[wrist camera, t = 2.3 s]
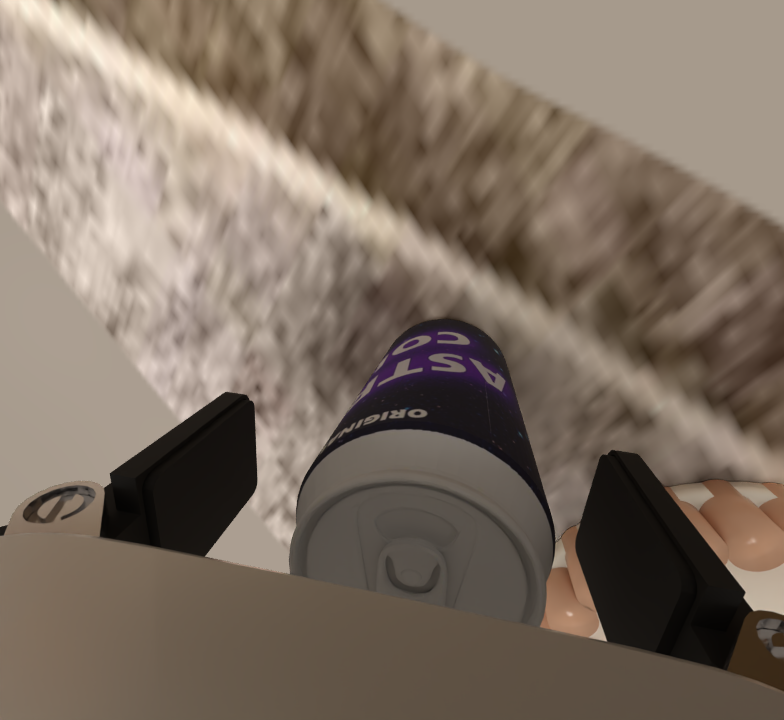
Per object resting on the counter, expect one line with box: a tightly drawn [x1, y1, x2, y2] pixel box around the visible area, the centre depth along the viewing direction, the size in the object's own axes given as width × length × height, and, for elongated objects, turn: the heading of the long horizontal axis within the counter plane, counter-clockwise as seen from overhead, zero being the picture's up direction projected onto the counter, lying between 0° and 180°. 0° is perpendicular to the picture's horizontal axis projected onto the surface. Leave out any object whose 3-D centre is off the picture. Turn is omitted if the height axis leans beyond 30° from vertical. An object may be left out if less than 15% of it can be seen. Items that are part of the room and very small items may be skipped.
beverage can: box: [289, 319, 556, 627], centre depth 13 cm, size 6×6×12 cm
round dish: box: [540, 480, 784, 641], centre depth 19 cm, size 18×18×3 cm
